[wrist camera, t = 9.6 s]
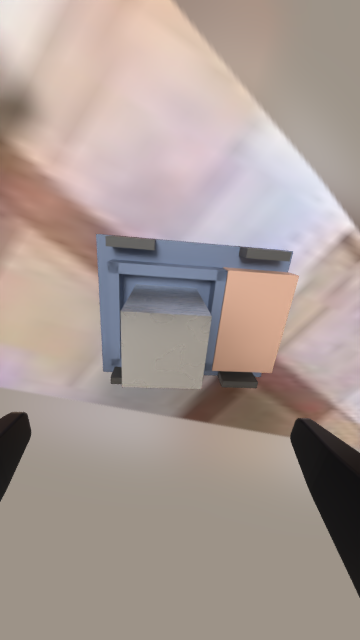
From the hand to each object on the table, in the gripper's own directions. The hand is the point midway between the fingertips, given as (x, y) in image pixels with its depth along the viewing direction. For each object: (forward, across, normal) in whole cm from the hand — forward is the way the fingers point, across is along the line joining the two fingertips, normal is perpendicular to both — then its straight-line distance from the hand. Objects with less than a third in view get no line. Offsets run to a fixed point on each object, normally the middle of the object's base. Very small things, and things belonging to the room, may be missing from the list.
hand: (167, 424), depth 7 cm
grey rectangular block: (+11, 0, 0) cm, 11 cm away
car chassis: (+12, -2, 0) cm, 12 cm away
